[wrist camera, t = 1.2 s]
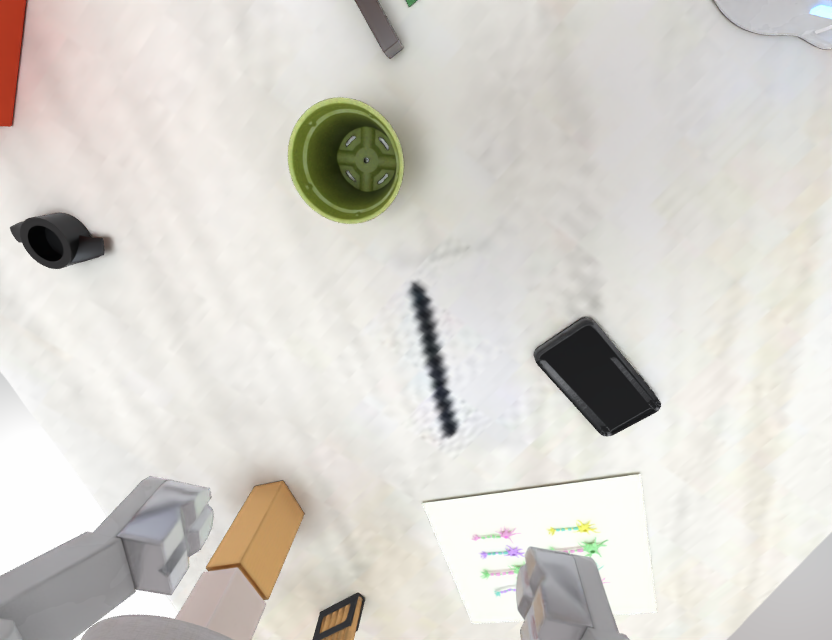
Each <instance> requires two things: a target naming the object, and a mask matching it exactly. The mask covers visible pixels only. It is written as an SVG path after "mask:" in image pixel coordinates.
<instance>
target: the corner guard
mask: <svg viewBox="0 0 832 640" xmlns="http://www.w3.org/2000/svg"><path fill="white" fill-rule="evenodd" d="M355 2H356V4H357V5H358V7H359V9H360V11H361V13H362V14H363V16H364V18H365V20H366V22H367V23H368V25H369V27H370V29H371V31H372V32H373V34H374V36H375V38H376V40H377V41H378V43H379V45H380V47H381V48H382V50H383V52H384V53H385V54H386V55H387V56H388V57H389V58H392V57H393V56H394V55H395V54H397V53H398V52H399V51H400V50H402V49H403V46H402V44H401V42H400V41H399V39H398V37H397V35H396V33H395V31H394V29H393V28H392V26H391V24H390V22H389V20H388V18H387V16H386V15H385V13H384V11H383V9H382V7H381V5H380V3H379V2H378V0H355Z"/></svg>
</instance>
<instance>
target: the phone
mask: <svg viewBox="0 0 832 640" xmlns="http://www.w3.org/2000/svg"><path fill="white" fill-rule="evenodd" d="M534 358H535V361H536V363H537V365H538V366H539V367H540V368H541V369H542V370H543V371H544V372H545V373H546V374H547V376H548V377H549V378H550V379H551V380H552V381H553V382H554V383H555V384H556V386H557V387H558V388H559V389H560V390H561V391H562V392H563V393H564V394H565V396H566V397H567V398H568V399H569V400H570V401H571V402H572V403H573V404H574V406H575V407H576V408H577V409H578V410H579V411H580V412H581V413H582V414H583V416H584V417H585V418H586V419H587V420H588V421H589V422H590V423H591V424H592V425H593V427H594V428H595V429H596V430H597V431H598V432H599V433H600V434H601V435H603V436H612V435H614V434H616V433H618V432H620V431H622V430H624V429H625V428H627V427H629V426H631V425H633V424H635V423H637V422H639V421H641V420H643V419H644V418H646V417H648V416H650V415H652V414H654V413H656V412H657V411H658V410H659V409H660V407H661V403H660V401H659V400H658V398H657V397H656V396H655V393H654V392H653V391H652V390H651V389H650V387H649V386H648V385H647V383H646V382H645V381H644V379H643V378H642V377H641V376H640V375H638V374H637V372H636V371H635V370H634V369H633V367H632V366H631V365H630V364H629V362H628V361H627V360H626V359H625V358H624V356H623V355H622V354H621V353H620V351H619V350H618V349H617V348H616V347H615V345H614V344H613V343H612V342H611V340H610V339H609V338H608V337H607V336H606V334H605V333H604V332H603V331H602V329H601V328H600V327H599V326H598V325H597V323H596V322H595V321H594V320H593V319H591V318H582V319H580V320H578V321H577V322H575V323H574V324H572V325H571V326H569V327H568V328H566V329H565V330H563V331H562V332H560V333H559V334H557V335H556V336H554V337H553V338H551V339H550V340H548V341H547V342H545V343H544V344H542V345H541V346H539V347H538V348H537V349H536V350H535V352H534Z"/></svg>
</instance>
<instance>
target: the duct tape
mask: <svg viewBox="0 0 832 640" xmlns="http://www.w3.org/2000/svg"><path fill="white" fill-rule="evenodd" d="M10 230H11V232H12V234H13V236H14V237H15V239H16V240H17V241H18V242H22V243H23V246H24V247H25V249H26V251H27V252H28V253H29V254H30V256H31V257H32V258H33V259H35V260H36V261H37V262H38V263H40V264H42V265H43V266H46V267H48V268H52V269H60V268H64V267H67V266H70V265H73V264H76V263H79V262H84V261H87V260H90V259H94V258H96V257H99V256H102V255H104V242H103V238H91V236H90V234H89V232H88V230H87V229H86V228H85V226H84V225H83V224H82V223H81V222H80V221H79V220H77V219H76V218H74V217H73V216H71V215H68V214H65V213H54V214H49V215H43V216H38V217H32V218H28V219H26V220H25V221H24V222H20V223H17V224H15V225H13V226H11V227H10Z"/></svg>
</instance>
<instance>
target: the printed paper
mask: <svg viewBox="0 0 832 640" xmlns="http://www.w3.org/2000/svg"><path fill="white" fill-rule="evenodd" d="M422 505H423V507H424V510H425V512H426V515H427V517H428V519H429V522H430V524H431V527H432V529H433V531H434V534H435V536H436V539H437V541H438V543H439V546H440V548H441V550H442V553H443V555H444V558H445V560H446V562H447V565H448V567H449V570H450V572H451V574H452V577H453V579H454V582H455V584H456V586H457V589H458V591H459V594H460V596H461V598H462V601H463V603H464V606H465V608H466V610H467V613H468V615H469V618H470V620H471V622H472V624H480V623H497V622H513V621H524V619H523V617H522V616H521V614H520V613H519V611H518V610H517V601H516V583H517V575H518V572H519V569H520V567H521V566H523V565H525V564H526V561H525V553H526V551H527V549H528V548H529V547H530V546H531V547H537V548H543V549H549V550H555V551H561V552H567V553H570V554H575V555H581V556H587V557H591V558H593V560H594V561H595V562H596V565H597V568H598V571H599V574H600V577H601V580H602V583H603V586H604V589H605V592H606V595H607V598H608V601H609V604H610V607H611V610H612V613H613V615H629V614H645V613H657V605H656V597H655V589H654V581H653V572H652V564H651V556H650V547H649V539H648V531H647V523H646V514H645V506H644V498H643V489H642V481H641V474H637V475H629V476H622V477H614V478H607V479H599V480H592V481H585V482H577V483H570V484H562V485H555V486H547V487H540V488H532V489H525V490H517V491H510V492H502V493H495V494H487V495H480V496H472V497H465V498H457V499H450V500H443V501H435V502H428V503H422Z"/></svg>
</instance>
